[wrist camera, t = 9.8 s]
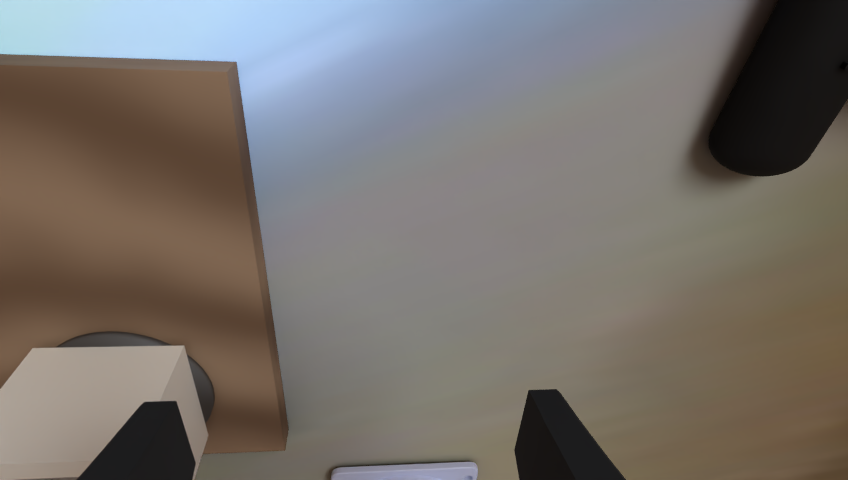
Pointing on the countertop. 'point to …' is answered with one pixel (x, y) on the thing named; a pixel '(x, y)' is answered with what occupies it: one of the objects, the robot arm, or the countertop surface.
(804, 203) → the countertop surface
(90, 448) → the collar
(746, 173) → the door handle
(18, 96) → the post board
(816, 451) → the countertop surface
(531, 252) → the countertop surface
